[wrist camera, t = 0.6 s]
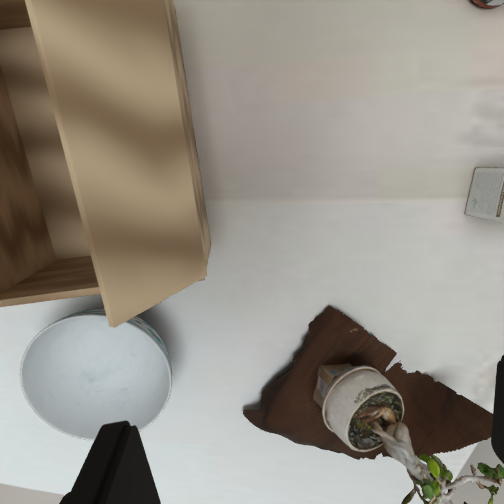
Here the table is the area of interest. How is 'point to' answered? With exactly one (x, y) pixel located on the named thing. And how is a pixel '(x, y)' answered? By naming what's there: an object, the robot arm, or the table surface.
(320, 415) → the potted plant
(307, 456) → the table surface
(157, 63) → the flap
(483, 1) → the supplement bottle
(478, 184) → the syrup box
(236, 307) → the table surface
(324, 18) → the table surface
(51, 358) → the chinaware
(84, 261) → the carton
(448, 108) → the table surface
